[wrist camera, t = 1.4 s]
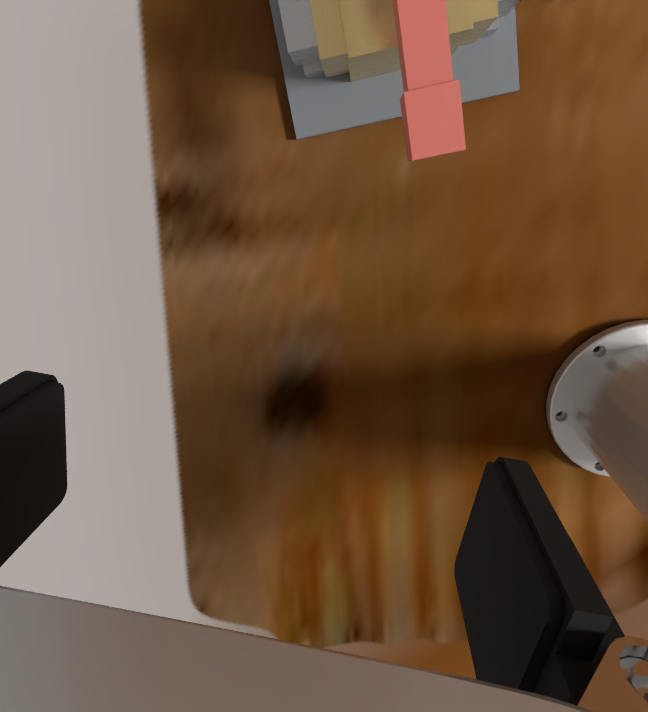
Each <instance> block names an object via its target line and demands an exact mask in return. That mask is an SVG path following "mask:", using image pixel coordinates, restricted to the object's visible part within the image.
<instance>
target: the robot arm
mask: <svg viewBox="0 0 648 712" xmlns="http://www.w3.org/2000/svg"><path fill="white" fill-rule="evenodd" d="M596 347H597V348H596ZM595 348H596V349H595ZM594 349H595V350H594ZM558 412H559V413H558ZM546 417H547V421H548V426H549V430H550V432H551V434H552V436H553V438H554V440H555V442H556V443H557V444H558V446H559V447H560V449H561V450H562V451H563V453H564V454H565V455H566V456H567V457H569V458H570V459H571V460H572V461H573V462H574V463H576V464H577V465H579V466H580V467H582V468H583V469H585V470H588V471H590V472H592V473H595V474H598V475H603V476H608V477H611V478H612V479H613V480H614V481H615V483H616V484H617V485H618V486H619V487H620V489H621V490H622V491H623V492H624V493H625V495H626V496H627V497H628V498H629V500H630V501H631V502H632V503H633V504H634V506H635V507H636V508H637V509H638V511H639V512H640V513H641V514H642V515H643V517H644V518H645V519H646V520H647V521H648V320H638V321H632V322H626V323H623V324H620V325H617V326H614V327H610V328H608V329H606V330H604V331H602V332H600V333H598V334H596V335H594V336H592V337H591V338H589V339H588V340H587V341H585V342H584V343H583V344H581V345H580V346H579V347H577V348H576V349H575V350H574V351H573V352H572V353H571V354H570V355H569V356H568V357H567V358H566V360H565V361H564V362H563V364H562V365H561V367H560V368H559V370H558V371H557V373H556V374H555V377H554V379H553V381H552V383H551V386H550V388H549V393H548V397H547V402H546ZM66 490H67V465H66V434H65V400H64V387H63V385H62V384H61V383H58V381H57V379H56V377H55V376H53V375H48V374H43V373H37V372H32V371H24V372H21V373H19V374H18V375H16V376H14V377H12V378H11V379H9V380H7V381H5V382H3V383H2V384H0V567H1V566H2V564H4V562H5V561H6V560H7V559H8V558H9V557H10V556H11V555H12V554H13V553H14V552H15V551H16V550H17V549H18V547H19V546H21V544H22V543H23V542H24V541H25V540H26V539H27V538H28V537H29V536H30V535H31V534H32V533H33V532H34V531H35V530H36V529H37V527H38V526H39V525H40V524H41V523H42V522H43V521H44V520H45V519H46V518H47V517H48V516H49V515H50V514H51V513H52V512H53V510H54V509H55V508H56V507H57V506H58V505H59V504H60V503H61V502H62V500H63V498H64V496H65V494H66ZM454 571H455V580H456V585H457V589H458V594H459V599H460V604H461V608H462V613H463V618H464V622H465V627H466V632H467V636H468V641H469V645H470V650H471V655H472V659H473V664H474V669H475V674H476V678H477V679H473V678H468V677H462V676H458V675H452V674H448V673H443V672H437V671H433V670H428V669H423V668H418V667H413V666H408V665H403V664H398V663H393V662H388V661H383V660H378V659H373V658H368V657H363V656H358V655H353V654H348V653H343V652H338V651H333V650H328V649H323V648H318V647H313V646H308V645H303V644H299V643H294V642H289V641H284V640H279V639H274V638H268V637H264V636H259V635H253V634H248V633H243V632H238V631H233V630H228V629H222V628H217V627H212V626H207V625H202V624H197V623H191V622H186V621H181V620H176V619H171V618H166V617H160V616H155V615H150V614H145V613H140V612H135V611H130V610H124V609H119V608H114V607H109V606H104V605H99V604H93V603H88V602H83V601H78V600H72V599H67V598H61V597H56V596H51V595H45V594H40V593H35V592H29V591H24V590H19V589H14V588H8V587H3V586H0V712H648V640H645V639H642V638H636V637H629V636H627V637H625V635H624V634H623V632H622V630H621V628H620V626H619V625H618V623H617V621H616V619H615V618H614V616H613V614H612V612H611V610H610V608H609V607H608V605H607V603H606V601H605V599H604V598H603V596H602V594H601V592H600V590H599V589H598V587H597V585H596V583H595V581H594V580H593V578H592V576H591V574H590V572H589V571H588V569H587V567H586V565H585V563H584V562H583V560H582V558H581V556H580V554H579V553H578V551H577V549H576V547H575V545H574V544H573V542H572V540H571V538H570V537H569V536H568V534H567V532H566V530H565V528H564V527H563V525H562V523H561V521H560V519H559V517H558V516H557V514H556V512H555V510H554V508H553V507H552V505H551V503H550V501H549V499H548V498H547V496H546V494H545V492H544V490H543V489H542V487H541V485H540V483H539V481H538V480H537V478H536V476H535V474H534V472H533V470H532V469H531V467H530V465H529V464H528V462H526V461H521V460H515V459H510V458H504V457H498V458H497V460H496V461H495V463H494V462H488V463H487V465H486V467H485V470H484V473H483V476H482V479H481V482H480V485H479V488H478V491H477V495H476V498H475V501H474V504H473V507H472V510H471V513H470V516H469V520H468V523H467V526H466V529H465V532H464V535H463V538H462V541H461V545H460V548H459V551H458V554H457V557H456V561H455V570H454Z"/></svg>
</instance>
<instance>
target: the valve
mask: <svg viewBox="0 0 648 712" xmlns="http://www.w3.org/2000/svg"><path fill="white" fill-rule="evenodd" d="M520 1H521V0H446V10H447V20H448V31H449V41H450V51H451V56H452V55H453V53H454V52H455V51H456V50H457V48H458V47H459V46H463V45H467V44H471V43H475V42H476V41H477V40H478V39H480V38H484V37H488V36H492V35H493V34H494V33H495V32H496V31H497V30H498V29H499V28H500V21H499V18H500V17H504V16H507V15H508V13H509V12H510V11H511V10H512V9H513V8H514V7H515V6H516V5H517V4H518V3H519V2H520ZM278 3H279V8H280V13H281V18H282V24H283V29H284V34H285V39H286V44H287V50H288V53H289V55H290V57H291V58H292V60H293V62H294V63H295V65H296V66H300V65H303V68H304V74H305V76H306V77H307V79H311V78H315V77H319V76H323V75H326V78H327V77H331V76H335V75H340V74H344V73H348V72H349V74H350V80H351V82H353V81H358V80H362V79H366V78H371V77H375V76H379V75H383V74H388V73H392V72H396V71H401V66H400V58H399V50H398V42H397V34H396V26H395V18H394V11H393V3H392V0H278Z"/></svg>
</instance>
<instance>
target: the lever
mask: <svg viewBox="0 0 648 712" xmlns="http://www.w3.org/2000/svg"><path fill="white" fill-rule="evenodd" d="M392 3H393V11H394V18H395V26H396V34H397V42H398V50H399V58H400V66H401V74H402V81H403V89H404V93H403V95H402V96H401V98H400V106H401V114H402V121H403V129H404V137H405V144H406V152H407V160H408V161H412V160H417V159H422V158H427V157H431V156H436V155H441V154H446V153H451V152H455V151H460V150H465V149H466V146H465V135H464V124H463V113H462V102H461V91H460V81H459V80H455V81H453V72H452V62H451V51H450V41H449V31H448V20H447V10H446V0H392Z"/></svg>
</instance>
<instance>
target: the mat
mask: <svg viewBox="0 0 648 712" xmlns="http://www.w3.org/2000/svg"><path fill="white" fill-rule="evenodd" d="M269 2H270V7H271V13H272V18H273V23H274V28H275V33H276V38H277V43H278V48H279V53H280V58H281V63H282V68H283V73H284V78H285V83H286V88H287V93H288V98H289V104H290V109H291V114H292V119H293V124H294V129H295V134H296V139H297V140H298V139H303V138H307V137H312V136H316V135H321V134H326V133H330V132H335V131H339V130H344V129H348V128H353V127H357V126H362V125H366V124H371V123H375V122H380V121H384V120H389V119H393V118H398V117H402V114H401V106H400V98H401V96H402V95H403V93H404V89H403V81H402V74H401V71H396V72H392V73H388V74H383V75H379V76H375V77H371V78H366V79H362V80H358V81H353V82H351V80H350V74H349V72H348V73H344V74H340V75H335V76H331V77H327V78H326V75H323V76H319V77H315V78H311V79H307V77H306V76H305V74H304V68H303V65H300V66H296V65H295V63H294V62H293V60H292V58H291V57H290V55H289V53H288V50H287V44H286V39H285V34H284V29H283V24H282V18H281V13H280V8H279V3H278V0H269ZM499 21H500V28H499V29H498V30H497V31H496V32H495V33H494V34H493V35H492V36H488V37H484V38H480V39H478V40H477V41H476V42H475V43H471V44H467V45H463V46H459V47H458V48H457V50H456V51H455V52H454V53H453V55H452V56H451V62H452V72H453V81H455V80H459V81H460V91H461V102H462V103H466V102H470V101H475V100H479V99H484V98H489V97H493V96H498V95H502V94H507V93H511V92H516V91H518V90H520V89H519V71H518V53H517V35H516V18H515V7H514V8H513V9H512V10H511V11H510V12H509V13H508V15H507V16H504V17H500V18H499Z"/></svg>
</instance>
